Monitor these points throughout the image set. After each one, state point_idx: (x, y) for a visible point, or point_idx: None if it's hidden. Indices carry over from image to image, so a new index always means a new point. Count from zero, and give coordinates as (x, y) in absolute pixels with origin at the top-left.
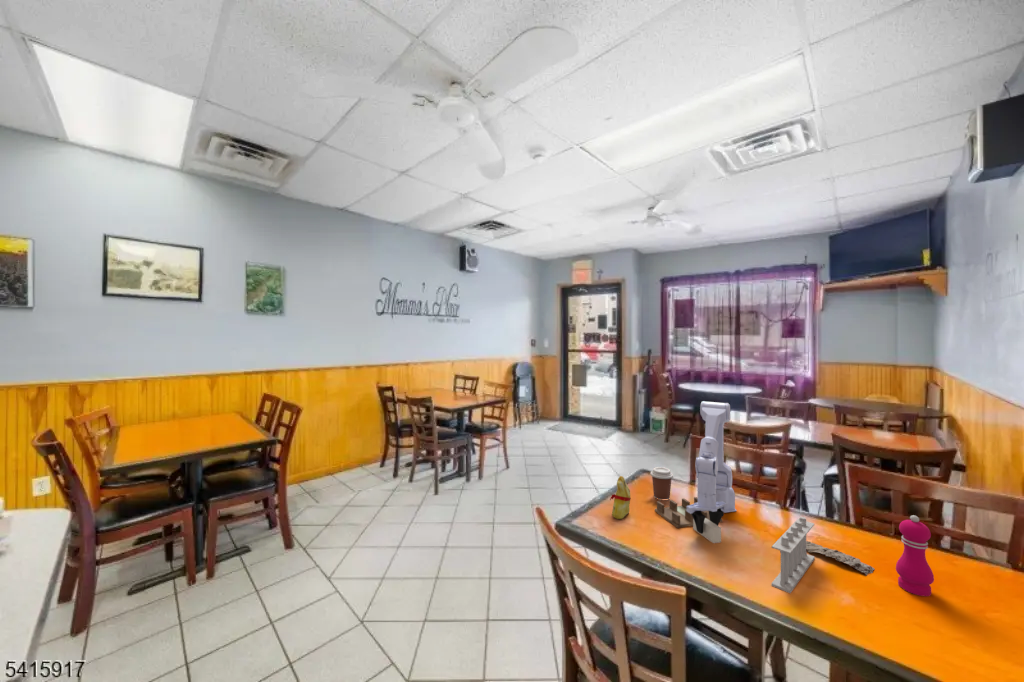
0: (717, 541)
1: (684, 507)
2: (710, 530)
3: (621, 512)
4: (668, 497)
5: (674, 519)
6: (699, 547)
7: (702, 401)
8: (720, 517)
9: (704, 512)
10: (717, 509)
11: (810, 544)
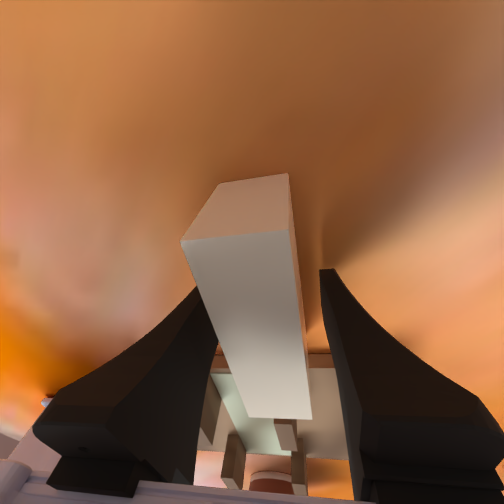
0: (249, 182)
1: (242, 446)
2: (293, 247)
3: None
4: (262, 484)
5: None
6: (469, 111)
7: None
8: (118, 366)
9: None
10: (96, 482)
11: None
